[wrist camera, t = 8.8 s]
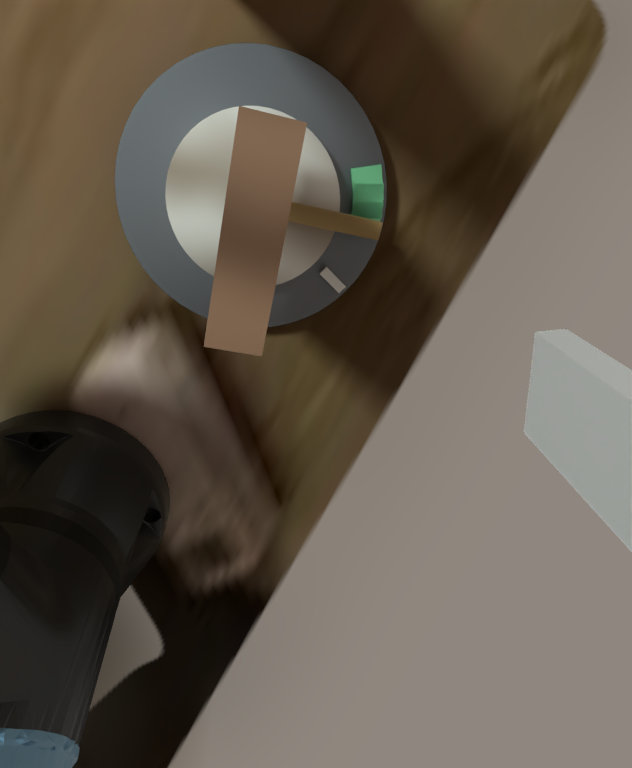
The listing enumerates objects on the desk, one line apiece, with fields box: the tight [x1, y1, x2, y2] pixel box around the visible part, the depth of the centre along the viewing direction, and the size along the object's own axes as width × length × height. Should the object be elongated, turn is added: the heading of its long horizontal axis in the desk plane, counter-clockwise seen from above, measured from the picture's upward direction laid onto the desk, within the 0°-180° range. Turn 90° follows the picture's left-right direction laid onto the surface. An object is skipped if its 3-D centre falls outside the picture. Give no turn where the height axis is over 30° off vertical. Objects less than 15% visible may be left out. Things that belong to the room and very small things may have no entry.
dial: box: [165, 106, 383, 356], centre depth 27 cm, size 10×12×13 cm
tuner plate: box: [115, 43, 387, 327], centre depth 33 cm, size 16×16×2 cm
